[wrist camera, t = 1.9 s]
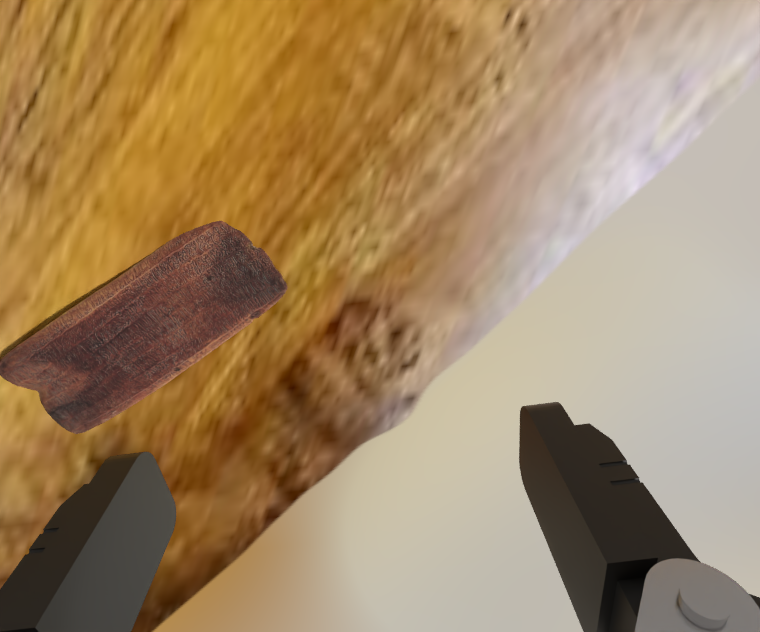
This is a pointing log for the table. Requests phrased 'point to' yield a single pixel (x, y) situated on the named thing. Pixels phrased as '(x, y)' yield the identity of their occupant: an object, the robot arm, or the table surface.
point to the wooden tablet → (146, 326)
